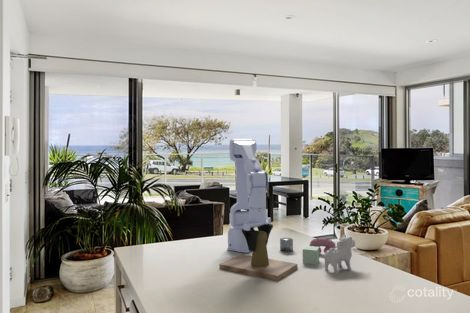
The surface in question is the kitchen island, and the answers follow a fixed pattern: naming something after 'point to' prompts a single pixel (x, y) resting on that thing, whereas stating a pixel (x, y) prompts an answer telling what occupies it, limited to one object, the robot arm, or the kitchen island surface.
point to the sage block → (310, 255)
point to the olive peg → (260, 251)
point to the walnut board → (271, 271)
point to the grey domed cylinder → (286, 244)
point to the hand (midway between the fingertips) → (258, 248)
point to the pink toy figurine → (323, 244)
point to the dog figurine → (339, 253)
